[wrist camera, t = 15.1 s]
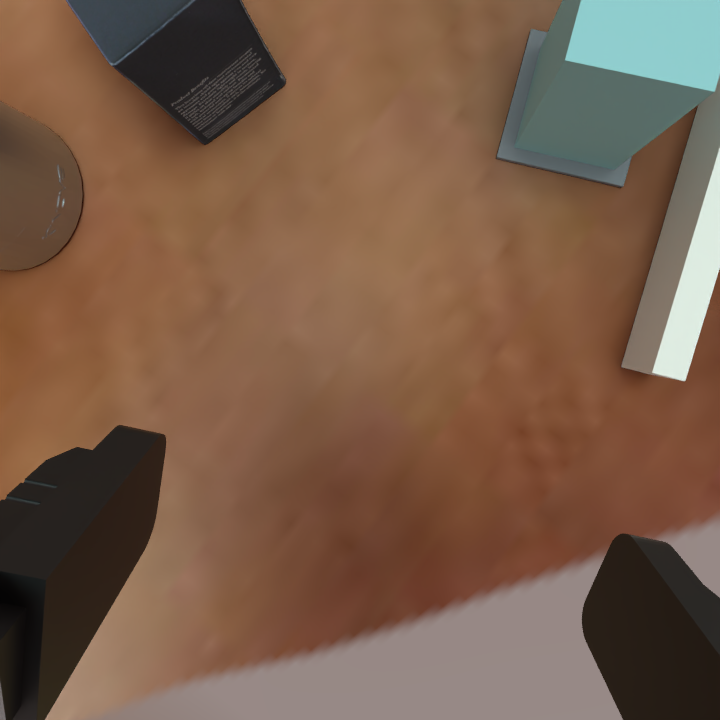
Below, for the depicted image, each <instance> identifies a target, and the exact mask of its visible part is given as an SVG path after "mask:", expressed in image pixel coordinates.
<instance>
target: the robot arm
mask: <svg viewBox="0 0 720 720" xmlns="http://www.w3.org/2000/svg"><path fill="white" fill-rule="evenodd" d="M82 198H83V193H82V181H81V176H80V173H79V169H78V166H77V163H76V161H75V159H74V157H73V155H72V153H71V151H70V150H69V148H68V147H67V146H66V144H65V143H64V142H63V141H62V140H61V138H60V137H59V136H58V135H57V134H55V133H54V132H53V131H52V130H50V129H49V128H48V127H47V126H45V125H43V124H41V123H39V122H38V121H36V120H34V119H32V118H31V117H29V116H27V115H25V114H23V113H22V112H20V111H18V110H16V109H14V108H13V107H11V106H9V105H7V104H5V103H4V102H2V101H0V270H13V271H17V270H23V269H28V268H32V267H35V266H37V265H39V264H42V263H44V262H46V261H47V260H49V259H50V258H51V257H53V256H54V255H56V254H57V253H58V252H59V251H60V250H61V249H62V247H63V246H64V245H65V244H66V243H67V242H68V240H69V239H70V237H71V235H72V233H73V232H74V230H75V228H76V226H77V222H78V219H79V216H80V213H81V207H82ZM165 450H166V437H165V435H164V434H160V433H155V432H151V431H146V430H141V429H137V428H132V427H127V426H123V425H118V426H117V427H115V428H114V429H113V430H112V431H111V432H110V433H109V434H108V435H107V436H106V437H105V438H104V439H103V440H102V441H101V442H100V443H99V444H98V445H97V446H96V447H95V448H94V449H93V450H89V449H84V448H79V447H76V448H74V449H71V450H69V451H66V452H64V453H62V454H59V455H57V456H55V457H52V458H50V459H48V460H46V461H45V462H44V463H42V464H41V465H40V466H39V467H38V468H37V469H36V470H35V471H34V472H32V473H31V474H30V475H29V476H28V477H27V478H26V479H25V482H24V483H20V484H19V485H18V486H17V487H16V488H14V489H13V490H12V491H11V492H10V493H9V494H8V495H7V497H6V499H5V500H1V501H0V720H45V718H46V717H47V715H48V713H49V712H50V710H51V708H52V706H53V705H54V703H55V701H56V700H57V698H58V696H59V695H60V693H61V691H62V689H63V688H64V686H65V684H66V683H67V681H68V679H69V678H70V676H71V674H72V673H73V671H74V669H75V667H76V666H77V664H78V662H79V661H80V659H81V657H82V656H83V654H84V652H85V650H86V649H87V647H88V645H89V644H90V642H91V640H92V639H93V637H94V635H95V633H96V632H97V630H98V628H99V627H100V625H101V623H102V622H103V620H104V618H105V616H106V615H107V613H108V611H109V610H110V608H111V606H112V605H113V603H114V601H115V599H116V598H117V596H118V594H119V593H120V591H121V589H122V588H123V586H124V584H125V582H126V581H127V579H128V577H129V576H130V574H131V572H132V571H133V569H134V567H135V565H136V564H137V562H138V560H139V559H140V557H141V555H142V554H143V552H144V550H145V548H146V546H147V544H148V541H149V539H150V536H151V533H152V530H153V527H154V523H155V519H156V514H157V508H158V500H159V493H160V486H161V479H162V472H163V464H164V457H165ZM582 626H583V627H582V628H583V633H584V637H585V640H586V642H587V644H588V647H589V649H590V651H591V653H592V655H593V657H594V659H595V661H596V663H597V666H598V668H599V669H600V672H601V674H602V676H603V678H604V680H605V682H606V684H607V686H608V689H609V691H610V693H611V695H612V697H613V699H614V701H615V703H616V705H617V708H618V709H619V712H620V714H621V715H622V718H623V720H720V598H719V597H718V596H717V595H716V594H714V593H713V592H712V591H711V590H709V589H708V588H707V587H706V586H705V585H703V584H702V582H701V581H700V580H699V579H698V578H697V576H696V575H695V574H694V573H693V571H692V570H691V569H690V568H689V567H688V565H687V564H686V563H685V562H684V561H683V559H682V558H681V557H680V556H679V555H678V553H677V552H676V551H675V550H674V549H673V547H672V546H671V545H669V544H668V543H666V542H662V541H658V540H653V539H648V538H644V537H639V536H634V535H629V534H620V535H618V536H617V537H616V538H614V540H613V541H612V543H611V545H610V547H609V549H608V551H607V554H606V556H605V558H604V560H603V562H602V565H601V567H600V569H599V571H598V574H597V576H596V578H595V580H594V582H593V585H592V587H591V589H590V591H589V594H588V596H587V598H586V601H585V603H584V607H583V612H582Z"/></svg>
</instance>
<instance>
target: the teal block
mask: <svg viewBox="0 0 720 720" xmlns="http://www.w3.org/2000/svg"><path fill="white" fill-rule="evenodd" d="M719 76H720V0H563V1H562V3H561V5H560V7H559V9H558V11H557V13H556V16H555V18H554V20H553V22H552V24H551V26H550V28H549V31H548V33H547V35H546V37H545V39H544V41H543V43H542V45H541V48H540V52H539V56H538V60H537V64H536V67H535V71H534V75H533V79H532V82H531V86H530V90H529V94H528V97H527V101H526V105H525V109H524V113H523V116H522V120H521V124H520V128H519V131H518V135H517V139H516V143H515V147H514V148H519V149H523V150H528V151H532V152H537V153H541V154H546V155H550V156H554V157H559V158H563V159H568V160H572V161H577V162H581V163H586V164H590V165H595V166H599V167H604V168H608V169H613V170H614V169H616V168H617V167H618V166H620V165H621V164H622V163H623V162H625V161H626V160H627V159H629V158H630V157H631V156H632V155H634V154H635V153H636V152H638V151H639V150H640V149H642V148H643V147H644V146H645V145H647V144H648V143H649V142H651V141H652V140H653V139H654V138H656V137H657V136H658V135H660V134H661V133H662V132H663V131H665V130H666V129H667V128H669V127H670V126H671V125H673V124H674V123H675V122H676V121H678V120H679V119H680V118H682V117H683V116H684V115H685V114H687V113H688V112H689V111H691V110H692V109H693V108H694V107H696V106H697V105H698V104H700V103H701V102H702V101H704V100H705V99H706V98H707V97H709V96H710V95H711V94H713V93H714V92H715V89H716V86H717V82H718V79H719Z"/></svg>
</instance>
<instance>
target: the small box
mask: <svg viewBox="0 0 720 720" xmlns="http://www.w3.org/2000/svg"><path fill="white" fill-rule="evenodd" d="M66 2H67V3H68V5H69V6H70V7H71V9H72V10H73V12H74V13H75V15H76V16H77V18H78V19H79V21H80V22H81V23H82V25H83V26H84V28H85V29H86V31H87V32H88V34H89V35H90V37H91V38H92V39H93V41H94V42H95V44H96V45H97V47H98V48H99V50H100V51H101V53H102V54H103V55H104V57H105V58H106V60H107V61H108V63H109V64H110V65H111V66H113V67H114V68H115V69H116V70H117V71H118V72H120V73H121V74H122V75H123V76H124V77H126V78H127V79H128V80H129V81H130V82H132V83H133V84H134V85H135V86H136V87H137V88H139V89H140V90H141V91H142V92H143V93H144V94H146V95H147V96H148V97H149V98H150V99H151V100H153V101H154V102H155V103H156V104H157V105H159V106H160V107H161V108H162V109H163V110H164V111H165V112H167V113H168V114H169V115H170V116H171V117H172V118H173V119H175V120H176V121H177V122H178V123H179V124H181V125H182V126H183V127H184V128H185V129H186V130H187V131H188V132H190V133H191V134H192V135H193V136H194V137H195V138H197V139H198V140H199V141H200V142H201V143H203V144H204V145H206V144H208V143H209V142H211V141H212V140H213V139H215V138H216V137H217V136H219V135H220V134H221V133H223V132H224V131H226V130H227V129H228V128H229V127H231V126H232V125H233V124H235V123H236V122H237V121H239V120H240V119H241V118H243V117H244V116H245V115H247V114H248V113H249V112H250V111H252V110H253V109H254V108H256V107H257V106H258V105H259V104H261V103H262V102H263V101H265V100H266V99H267V98H269V97H270V96H271V95H272V94H274V93H275V92H276V91H278V90H279V89H280V88H282V87H283V86H284V85H285V83H286V79H285V77H284V75H283V74H282V72H281V71H280V69H279V68H278V66H277V64H276V62H275V61H274V59H273V57H272V55H271V54H270V52H269V50H268V48H267V47H266V45H265V43H264V42H263V40H262V38H261V36H260V34H259V32H258V30H257V28H256V27H255V25H254V23H253V21H252V20H251V18H250V16H249V14H248V13H247V10H246V8H245V7H244V4H243V2H242V1H241V0H66Z"/></svg>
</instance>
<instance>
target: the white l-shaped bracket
mask: <svg viewBox="0 0 720 720" xmlns="http://www.w3.org/2000/svg"><path fill="white" fill-rule="evenodd" d="M547 33H548V32H543V31H539V30H534V29H531V31H530V34H529V38H528V41H527V45H526V49H525V53H524V56H523V60H522V64H521V67H520V71H519V75H518V79H517V82H516V86H515V90H514V93H513V97H512V101H511V105H510V108H509V112H508V116H507V119H506V123H505V127H504V131H503V134H502V138H501V142H500V145H499V149H498V153H497V157H496V159H500V160H504V161H508V162H512V163H517V164H521V165H525V166H530V167H534V168H538V169H543V170H547V171H551V172H556V173H560V174H564V175H568V176H573V177H577V178H581V179H586V180H590V181H594V182H599V183H603V184H607V185H611V186H616V187H620V188H621V187H623V185H624V182H625V178H626V175H627V171H628V168H629V165H630V161H631V158H632V156H631V157H630V158H629V159H627V160H626V161H625V162H623V163H622V164H621V165H620V166H618V167H617V168H616V169H614V170H613V169H608V168H604V167H599V166H595V165H590V164H586V163H581V162H577V161H572V160H568V159H563V158H559V157H554V156H550V155H546V154H541V153H537V152H532V151H528V150H523V149H519V148H514V147H515V143H516V139H517V135H518V131H519V128H520V124H521V120H522V116H523V113H524V109H525V105H526V101H527V97H528V94H529V90H530V86H531V82H532V79H533V75H534V71H535V67H536V64H537V60H538V56H539V52H540V48H541V45H542V43H543V41H544V39H545V37H546V35H547ZM719 269H720V76H719V79H718V82H717V86H716V89H715V92H714V93H713V94H711V95H710V96H709V97H707V98H706V99H705V100H704V101H702V102H701V103H700V104H698V108H697V111H696V115H695V118H694V121H693V125H692V128H691V131H690V135H689V138H688V142H687V145H686V148H685V152H684V155H683V159H682V162H681V165H680V169H679V172H678V176H677V179H676V182H675V186H674V189H673V192H672V196H671V199H670V203H669V206H668V209H667V213H666V216H665V220H664V223H663V226H662V230H661V233H660V236H659V240H658V243H657V247H656V250H655V253H654V257H653V260H652V264H651V267H650V270H649V274H648V277H647V280H646V284H645V287H644V291H643V294H642V297H641V301H640V304H639V308H638V311H637V314H636V318H635V321H634V324H633V328H632V331H631V335H630V338H629V341H628V345H627V348H626V352H625V355H624V358H623V362H622V365H621V367H622V368H626V369H630V370H634V371H638V372H642V373H646V374H650V375H655V376H660V377H666V378H671V379H676V380H681V381H685V380H686V377H687V373H688V370H689V367H690V364H691V360H692V357H693V354H694V351H695V347H696V344H697V341H698V337H699V334H700V331H701V328H702V324H703V321H704V318H705V314H706V311H707V308H708V305H709V301H710V298H711V295H712V292H713V288H714V285H715V282H716V278H717V275H718V272H719Z"/></svg>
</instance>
